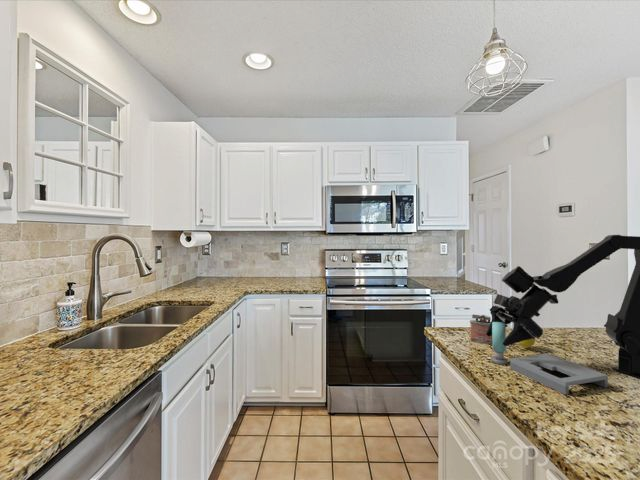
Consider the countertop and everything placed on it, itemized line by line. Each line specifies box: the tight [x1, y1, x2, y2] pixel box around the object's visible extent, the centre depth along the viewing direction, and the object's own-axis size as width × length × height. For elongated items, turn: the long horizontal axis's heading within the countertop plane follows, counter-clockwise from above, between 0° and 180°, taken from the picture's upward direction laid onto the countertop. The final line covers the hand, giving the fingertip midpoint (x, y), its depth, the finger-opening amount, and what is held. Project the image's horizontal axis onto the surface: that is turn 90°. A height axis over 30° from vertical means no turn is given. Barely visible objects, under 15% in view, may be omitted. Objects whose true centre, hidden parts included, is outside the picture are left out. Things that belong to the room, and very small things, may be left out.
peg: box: [490, 322, 509, 366], centre depth 97 cm, size 4×4×12 cm
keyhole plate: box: [509, 352, 609, 396], centre depth 86 cm, size 14×16×3 cm
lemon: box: [517, 337, 536, 349], centre depth 108 cm, size 6×6×8 cm
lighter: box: [469, 314, 492, 345], centre depth 115 cm, size 8×3×10 cm, turn 58°
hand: (495, 339), depth 97 cm, fingers open, 9 cm apart
